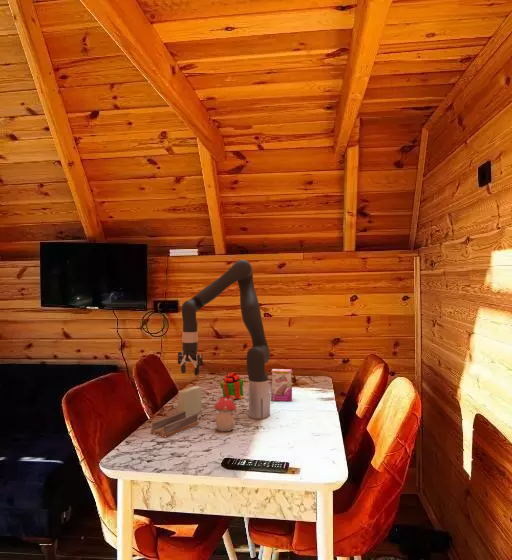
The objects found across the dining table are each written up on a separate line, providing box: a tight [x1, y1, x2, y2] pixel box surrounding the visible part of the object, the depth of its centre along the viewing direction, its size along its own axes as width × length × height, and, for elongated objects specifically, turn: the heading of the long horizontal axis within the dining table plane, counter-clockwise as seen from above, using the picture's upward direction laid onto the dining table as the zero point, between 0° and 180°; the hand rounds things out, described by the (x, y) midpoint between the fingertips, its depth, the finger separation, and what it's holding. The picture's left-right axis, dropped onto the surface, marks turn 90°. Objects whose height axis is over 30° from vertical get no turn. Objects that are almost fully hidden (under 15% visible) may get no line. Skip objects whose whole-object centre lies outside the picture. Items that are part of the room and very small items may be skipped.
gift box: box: [219, 372, 249, 401], centre depth 227 cm, size 20×19×14 cm
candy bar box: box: [270, 368, 293, 402], centre depth 224 cm, size 11×5×16 cm, turn 84°
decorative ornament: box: [214, 395, 237, 432], centre depth 179 cm, size 9×7×15 cm
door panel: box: [177, 385, 202, 417], centre depth 202 cm, size 4×12×12 cm, turn 146°
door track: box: [150, 411, 200, 438], centre depth 181 cm, size 10×19×4 cm, turn 146°
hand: (190, 374), depth 202 cm, fingers open, 8 cm apart
